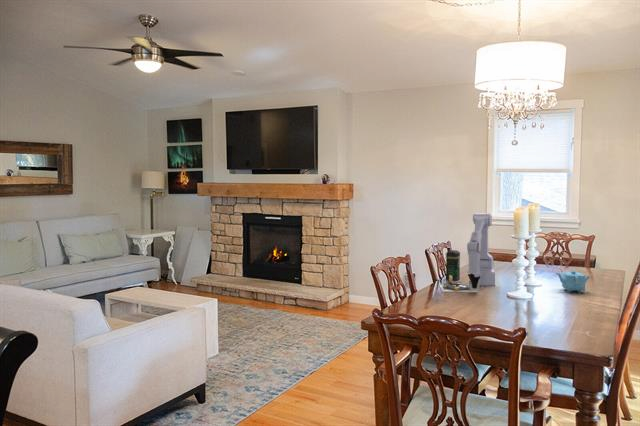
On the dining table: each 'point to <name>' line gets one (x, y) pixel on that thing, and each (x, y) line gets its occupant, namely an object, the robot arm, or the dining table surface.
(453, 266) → the coffee jar
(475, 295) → the dining table surface
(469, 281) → the yellow banded block
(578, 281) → the teapot
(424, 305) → the dining table surface
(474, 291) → the base plate
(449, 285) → the sprocket
